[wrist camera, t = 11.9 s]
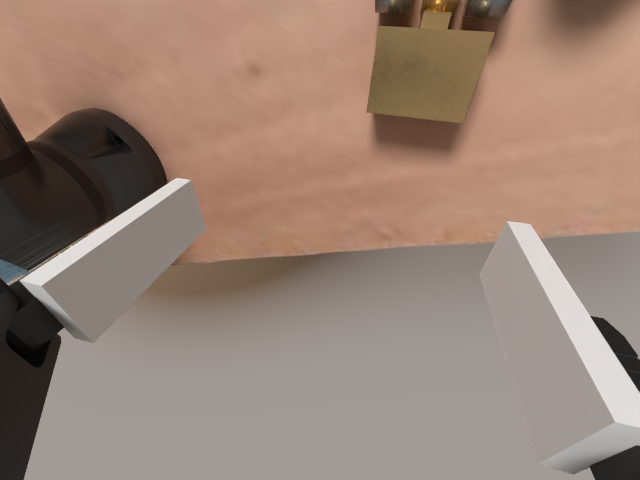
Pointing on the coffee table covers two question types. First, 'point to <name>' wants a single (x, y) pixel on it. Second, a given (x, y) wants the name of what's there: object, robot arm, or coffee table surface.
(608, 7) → the coffee table surface
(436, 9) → the gold knuckled block
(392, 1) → the steel hinge leaf
